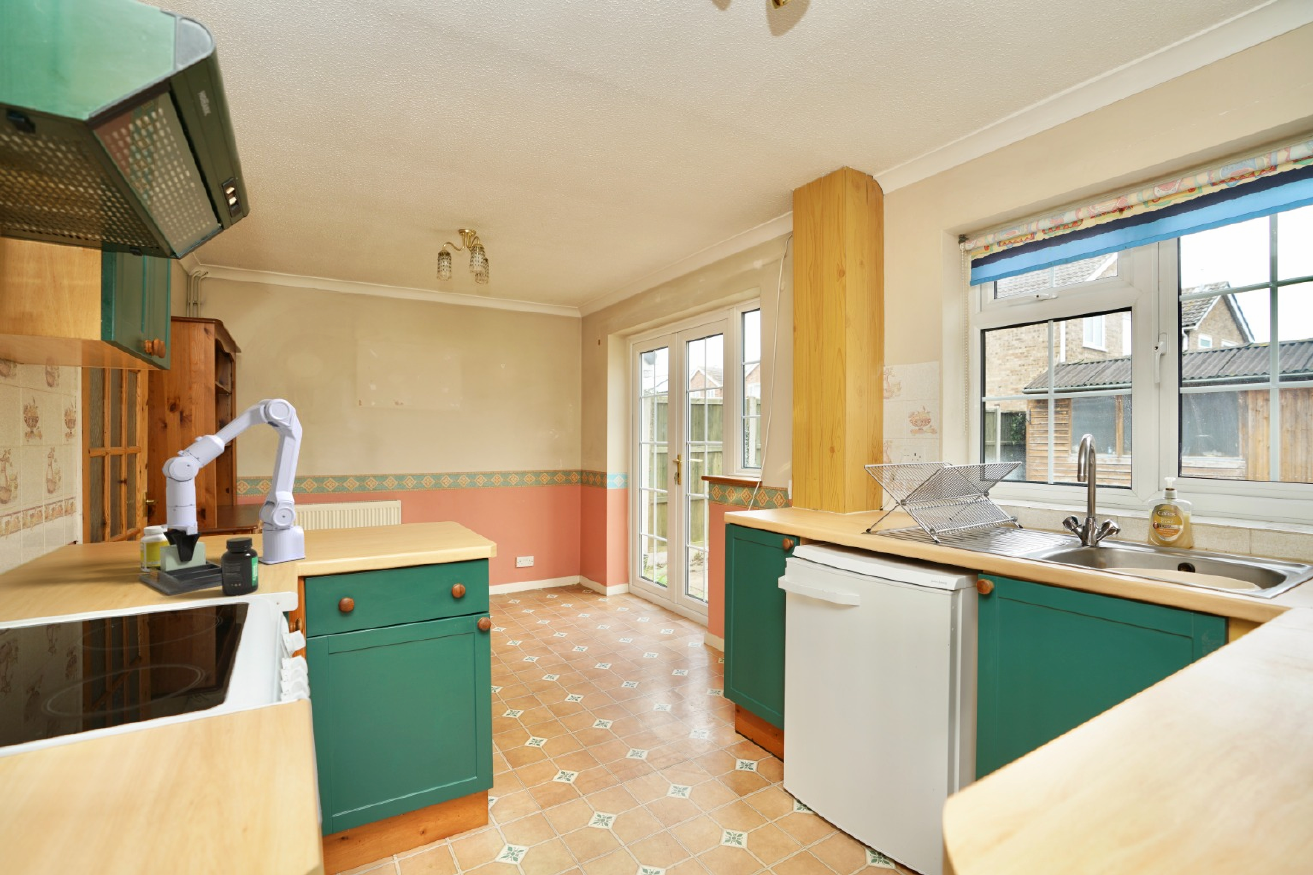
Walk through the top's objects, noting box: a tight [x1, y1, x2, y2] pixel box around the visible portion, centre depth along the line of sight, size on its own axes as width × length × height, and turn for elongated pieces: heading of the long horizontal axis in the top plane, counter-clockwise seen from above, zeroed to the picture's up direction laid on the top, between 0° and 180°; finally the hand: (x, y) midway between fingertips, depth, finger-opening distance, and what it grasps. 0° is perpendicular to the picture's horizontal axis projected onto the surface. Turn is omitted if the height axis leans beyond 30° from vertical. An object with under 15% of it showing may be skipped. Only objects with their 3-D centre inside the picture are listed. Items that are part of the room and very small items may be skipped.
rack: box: [138, 559, 222, 596], centre depth 147 cm, size 15×22×2 cm
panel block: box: [160, 540, 207, 572], centre depth 150 cm, size 8×4×6 cm, turn 144°
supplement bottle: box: [220, 536, 259, 597], centre depth 137 cm, size 7×7×12 cm
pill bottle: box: [139, 524, 170, 573], centre depth 156 cm, size 6×6×11 cm
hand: (182, 559), depth 150 cm, fingers closed on panel block, 4 cm apart
